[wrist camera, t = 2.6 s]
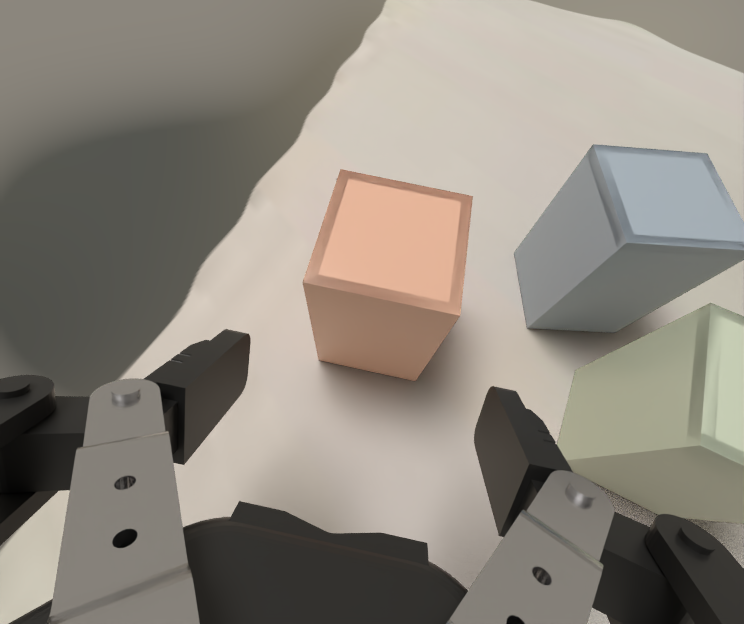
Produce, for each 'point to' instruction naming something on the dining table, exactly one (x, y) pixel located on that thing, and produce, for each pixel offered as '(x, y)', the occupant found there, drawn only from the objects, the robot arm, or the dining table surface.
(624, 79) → the dining table surface
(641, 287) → the blue grey bevelled block
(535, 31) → the dining table surface
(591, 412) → the pale green bevelled block
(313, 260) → the peach pink block
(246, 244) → the dining table surface
